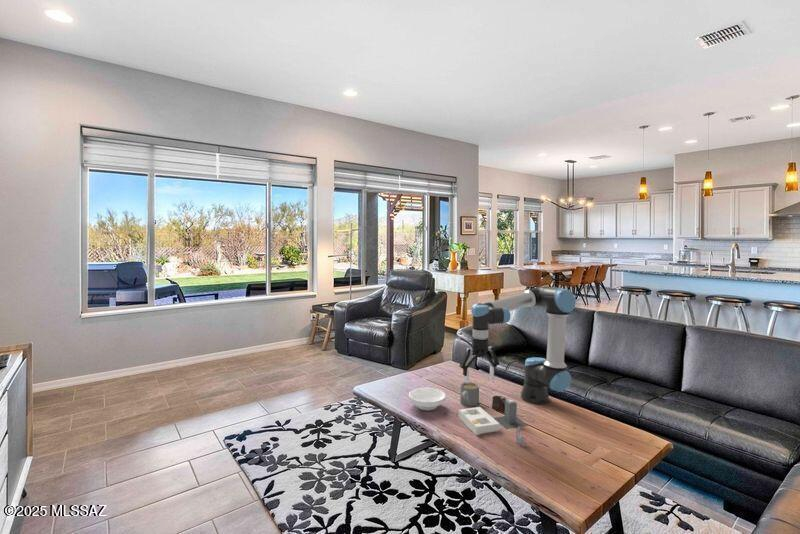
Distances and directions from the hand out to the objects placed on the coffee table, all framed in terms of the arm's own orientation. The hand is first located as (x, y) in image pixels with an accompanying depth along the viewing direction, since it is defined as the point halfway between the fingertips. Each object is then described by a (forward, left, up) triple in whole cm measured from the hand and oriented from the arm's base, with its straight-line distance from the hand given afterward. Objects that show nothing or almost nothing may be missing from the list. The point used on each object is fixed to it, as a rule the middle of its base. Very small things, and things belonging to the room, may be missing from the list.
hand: (479, 380), depth 191 cm
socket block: (0, 0, -22) cm, 22 cm away
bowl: (+17, -25, -22) cm, 37 cm away
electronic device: (-19, -10, -22) cm, 31 cm away
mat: (-16, +3, -22) cm, 27 cm away
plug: (-16, +3, -21) cm, 27 cm away
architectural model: (-15, +21, -22) cm, 34 cm away
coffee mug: (-6, -23, -22) cm, 32 cm away
